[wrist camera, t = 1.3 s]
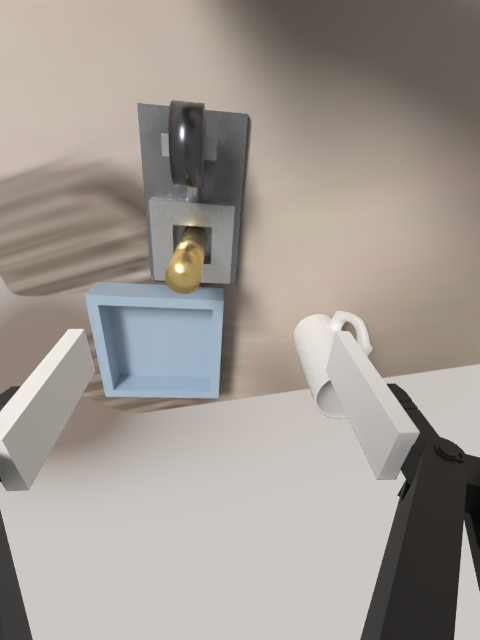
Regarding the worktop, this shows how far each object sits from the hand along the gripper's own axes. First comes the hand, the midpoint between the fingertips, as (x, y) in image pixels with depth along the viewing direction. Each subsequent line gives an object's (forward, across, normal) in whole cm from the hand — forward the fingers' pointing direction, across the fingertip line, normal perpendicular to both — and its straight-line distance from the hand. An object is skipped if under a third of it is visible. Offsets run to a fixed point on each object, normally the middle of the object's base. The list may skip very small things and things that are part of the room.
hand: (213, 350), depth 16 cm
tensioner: (+21, -2, +4) cm, 21 cm away
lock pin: (+20, -3, 0) cm, 20 cm away
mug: (+21, +14, -11) cm, 28 cm away
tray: (+21, -7, -13) cm, 26 cm away
